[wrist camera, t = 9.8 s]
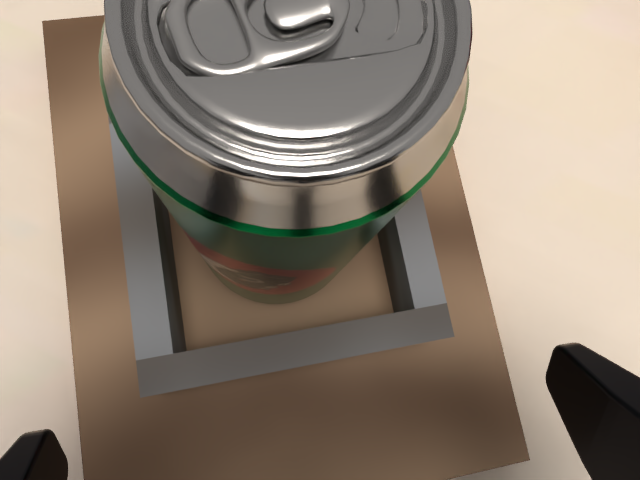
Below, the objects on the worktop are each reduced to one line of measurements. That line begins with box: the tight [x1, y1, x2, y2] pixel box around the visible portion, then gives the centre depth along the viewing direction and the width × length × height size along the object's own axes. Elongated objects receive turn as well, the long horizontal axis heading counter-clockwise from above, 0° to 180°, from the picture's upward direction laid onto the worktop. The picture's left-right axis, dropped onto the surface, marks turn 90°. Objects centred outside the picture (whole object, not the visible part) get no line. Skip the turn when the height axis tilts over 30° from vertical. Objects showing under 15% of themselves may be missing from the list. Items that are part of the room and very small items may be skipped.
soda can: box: [99, 0, 472, 304], centre depth 12 cm, size 5×5×12 cm
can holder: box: [42, 15, 530, 480], centre depth 17 cm, size 18×14×4 cm
